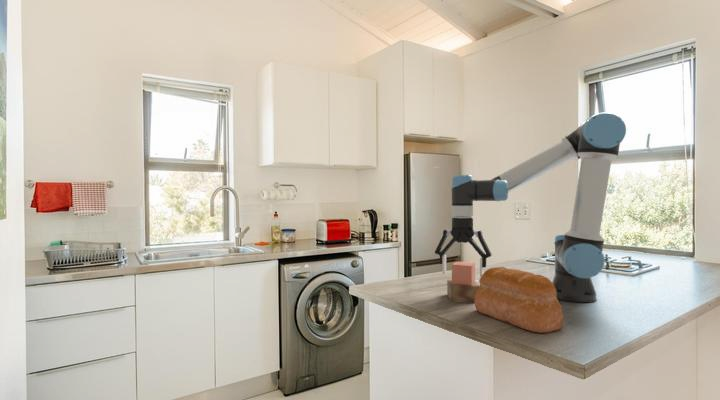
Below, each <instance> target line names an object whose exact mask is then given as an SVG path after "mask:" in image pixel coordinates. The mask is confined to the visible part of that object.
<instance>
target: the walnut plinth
mask: <svg viewBox="0 0 720 400" xmlns="http://www.w3.org/2000/svg"><path fill="white" fill-rule="evenodd" d="M446 284H447V285H446V286H447V289H446V290H447V291H446V292H447V294H446V295H447V297H448V300H449V302H452V303H475V295H476V291H477V289H478V287H479V286H480V284H479V283H477V282H476V281H475V282H474V283H473V284H472V286H471V285H460V284H452V279H447V282H446Z"/></svg>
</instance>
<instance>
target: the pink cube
mask: <svg viewBox="0 0 720 400" xmlns="http://www.w3.org/2000/svg"><path fill="white" fill-rule="evenodd" d="M451 280H452V284H460V285H471V286H472V284H473V283H474V282H476V263H475V262H466V261H455V262H453V263H452V264H451Z"/></svg>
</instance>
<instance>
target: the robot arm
mask: <svg viewBox="0 0 720 400" xmlns="http://www.w3.org/2000/svg"><path fill="white" fill-rule="evenodd" d="M626 133H627V126H626V124H625V122H624V120H623V119H622V118H621V116H619V115H617V114H616V113H613V112H612V113H611V112H599V113H595V114H592V115H591V116H590V117H588V118H587V119H586V120H585V121H584V122H582V123H581V124H580V125H579V126H578V127H577V128H575V129H574V130H573V131H572V132H570V133H569V134H567V135H565V136H564V137H562V138H561V141H560V142H558V143H556V144H554V145H553V146H551V147H549V148H547V149H546V150H543V151H542V152H540V153H538V154H536V155H534V156H533V157H531V158H529V159H528V158H527V160H525V161H523V162H521V163H519V164H518V165H515V166H514V167H512V168H510V169H508V170H507V171H504V172H503V173H501V174H499V175H497V176H495V177H493V178H491V179H483V180H478V179H477V180H475V179H474V176H473V175H471V174H466V175H465V174H460V175H459V174H458V175H453V176H452V178H451V216H452V218H451V230H450V229H444V230H443V231H442V232H443V233H442V237H441V239H440V241H439V243H438V244H437V247H436V248H435V251H434V253H435V255H438V256H439V264H440V265H442V272H441V273H442V274H447V255H446V253H447V252H448V251H449V249H450V248H451V247H452V246H453V245H454V244H455V243H456V242H457V243H464V244H466V243H469V245H471V246H472V248H474V250H475V251H476V252H477V254H478V255H479V256H480V258H479V278H481V277H482V275H483V273H484V268H486V266H487V258H490V257H492V256H493V255H492V252H491V250H490V248H489V246H488V244H487V242H486V241H485V238H484V236H483V231H482V230H477V231H475V230H474V218H473V216H474V202H480V201H481V202H506V201H507V200H508V198H509V194H508V193H510V192H512V191H513V190H516V189H518V188H520V187H521V186H523V185H526V184H527V183H530V182H531V181H534V180H535V179H538V178H539V177H541V176H543V175H545V174H546V173H548V172H551V171H553V170H554V169H556V168H558V167H560V166H562V165H564V164H565V163H567V162H568V163H569V162H570V161H571V160H572V161H573V160H574V161H578V160H579V159H580V166H579V171H578V172H579V173H578V179H577V185H576V192H575V198H574V204H573V210H572V218H571V224H570V229H569V230H568V231H566V232H565V233H564V234H557V235H556V236H555V239H554V243H553V244H554V276H553V279H552V281H551V282H552V283H553V285H554V286H555V288H556V292H557V295H556V297H557V300H560V301H567V302H575V303H591V302H592V303H593V302H596V301H597V292H596V289H595V286H594V284H593V280H592V278H593V277H596V276H598V275H599V274H600V273H601V272H602V270H603V269H604V267H605V263H606V261H605V257H604V253H603V250H604V243H605V238H603V237H602V235H601V227H602V222H603V216H604V210H605V204H606V196H607V190H608V184H609V178H610V172H611V166H612V162H613V161H614V160H616V159H617V158H618V157H619V151H620V145H621V143H622V141H623V140H624V139H625V137H626ZM450 235H451V236H452V238H451V239H450V240H449V242H448V243H447V244H446V245H445V247H443V246H444V244H445V243H446V240H447V239H448V236H450ZM474 236H475V237H476V238H477V239H478V240H479V241H478V242H479V243H480V245H481V247H482V248H481V247H480V246H479V245H478V244H477V242H476V241H475V240H474V238H473V237H474ZM442 248H443V249H442ZM482 249H483V250H484V251H483V250H482Z"/></svg>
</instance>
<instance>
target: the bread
mask: <svg viewBox="0 0 720 400" xmlns="http://www.w3.org/2000/svg"><path fill="white" fill-rule="evenodd" d="M552 282H553V281H551V280H550V279H549V278H548V277H547V276H544V275H542V274H534V273H532V272H529V271H526V270H525V271H523V270H520V269H513V268H507V267H504V266H500V267H499V266H498V267H496V266H495V267H490V268H488V269H487V270H485V271H483V275H482V277H479V287H478V289H477V291H476V295H475V302H474V307H475V309H476V310H477V311H478V312H479V313H480V314H483V315H485V316H486V315H487V316H489V317H492V318H494V319H496V320H499V321H501V322H505V323H509V324H511V325H512V326H515V327H517V328H520V329H524V330H527V331H530V332H533V333H538V334H540V333H541V334H543V333H551V332H554V331H558V330H560V329H561V328H562V326H563V324H564V317H563V309H562V305H561V303H560V302H559V299H557V297H556V295H557V292H556V288H555V286H554V285H553V283H552Z"/></svg>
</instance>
